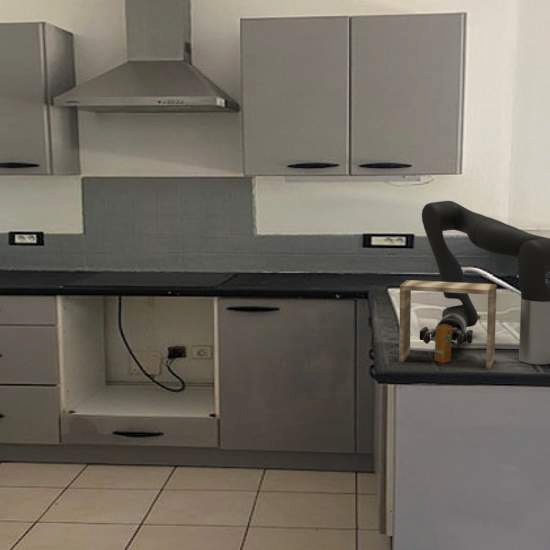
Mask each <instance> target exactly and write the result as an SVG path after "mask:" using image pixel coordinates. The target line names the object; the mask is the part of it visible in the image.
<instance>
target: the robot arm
mask: <svg viewBox="0 0 550 550" xmlns="http://www.w3.org/2000/svg"><path fill="white" fill-rule="evenodd" d="M421 221H422V225H423V228H424V231H425V235H426V237H427V239H428V243H429V245H430V249H431V250H432V254H433V256H434V258H435V261H436V262H435V263H436V265H437V269H438V273H439V277H440V282H457V283H466V281H465V276H464V272H463V268H462V266H461V265H460V262H459V261H458V260H457V258H456V257H455V255H454V254H453V253H452V251H451V250H450V248H449V247H448V245H447V244H446V241H445V238H444V232H447V231H456V232H457V231H458V232H460V233H464V234H465V235H467V238H468V239H469V241H470V242H471V244H472V245H474V246H476V247H478V248H479V249H481V250H484V251H487V252H490V253H493V254H496V255H502V256H509V257H516V258H517V259H518V260H517V267H518V270H517V271H518V272H517V273H518V287H519V290H520V316H519V320H520V321H519V342H518V344H519V345H518V347H519V349H518V360H519V361H520V362H522V363H525V364H530V365H540V366H541V365H542V366H543V365H550V285H548V283H547V280H546V279H547V277H546V274H549V273H550V237H545V236H543V235H542V236H540V235H537V234H533V233H529V232H527V231H524V230H522V229H519V228H517V227H516V226H512V225H510V224H508V223H504V222H502V221H500V220H498V219H495V218H492V217H490V216H486V215H484V214H481V213H478V212H475V211H472V210H470V209H468V208H466V207H464V206H463V205H461V204H459V203H457V202H455V201H452V200H442V201H435V202H434V201H433V202H428V203H427V204H425V205H423V208H422V211H421ZM442 293H443V297H445V298H446V299H451V300H452V299H454V300H459V301H460V302H461V304H459V305H458V304H457V305H453V306H449V307H448V306H447V307H446V308H444V309H443V311H442V316H441V317H442V318H441V320H440V321H439V322H438V323H437V325H442V324H446V325H450V326H452V343H451V345H454V344H456V347H460V346H461V345H463V344H465V343H466V344H468V345H469V344H470V345H471V344H472V342H473V338H474V334H473V333H474V330H472V329H469V330H466V329H467V328H470V327H474V326H476V325H477V322H478V320H479V319H478V318H479V316H478V312H477V309H476V308H475V305H474V304H473V302H472V299H471V298H470V296H469V293H449V292H442ZM419 339H420V340H423V342H425V344H428V343H429V342H430V341H434V342H435V340H436V327H435V328H431V329H429V327H427V326H423V327H422V328H421V329H420V330H419Z"/></svg>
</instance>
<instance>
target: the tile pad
mask: <svg viewBox="0 0 550 550" xmlns="http://www.w3.org/2000/svg"><path fill="white" fill-rule="evenodd" d="M411 350H412V351H421V352H422V351H425V352H434V353H435V343H428V344H425V342H424V343H423V342H415V343H414V342H410V351H411Z"/></svg>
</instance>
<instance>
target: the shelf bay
mask: <svg viewBox="0 0 550 550" xmlns="http://www.w3.org/2000/svg"><path fill="white" fill-rule="evenodd" d="M497 286H498V285H497V284H496V283H477V282H476V283H474V282H465V283H457V282H441V281H436V280H435V281H434V280H433V281H432V280H414V279H413V280H410V279H409V280H408V279H407V280H405V281H404V282H402V283H401V284H400V285H399V336H398V338H399V339H398V341H399V342H398V343H399V344H398V346H399V347H398V348H399V349H398V352H399V353H398V356H399V357H398V362H399V363H404V362H405V361H406V360H407V359H408V358H409V357H410V355H411V350H410V341H411V316H412V315H411V312H412V311H411V310H412V309H411V308H412V307H411V306H412V301H411V300H412V297H411V296H412V292H413V291H414V292H416V291H417V292H430V293H431V292H433V293H443V292H449V293H468V295H469V294H472V295H473V294H475V295H487V323H486V324H487V325H486V326H487V327H486V329H487V330H486V356H485V357H486V358H485V360H486V361H485V369H486V370H491V369H492V368H493V365H494V362H495V356H496V355H495V353H496V352H495V349H496V319H497V316H496V315H497Z"/></svg>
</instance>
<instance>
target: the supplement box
mask: <svg viewBox="0 0 550 550" xmlns="http://www.w3.org/2000/svg"><path fill="white" fill-rule="evenodd" d="M435 328H436V340H435V352H434V362H435V361H436V362H438V363H442V364H444V363H448V362H451V357H452V344H451V343H452V326H450V325H446V324H442V325H438V324H437V325H436V326H435Z"/></svg>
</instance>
